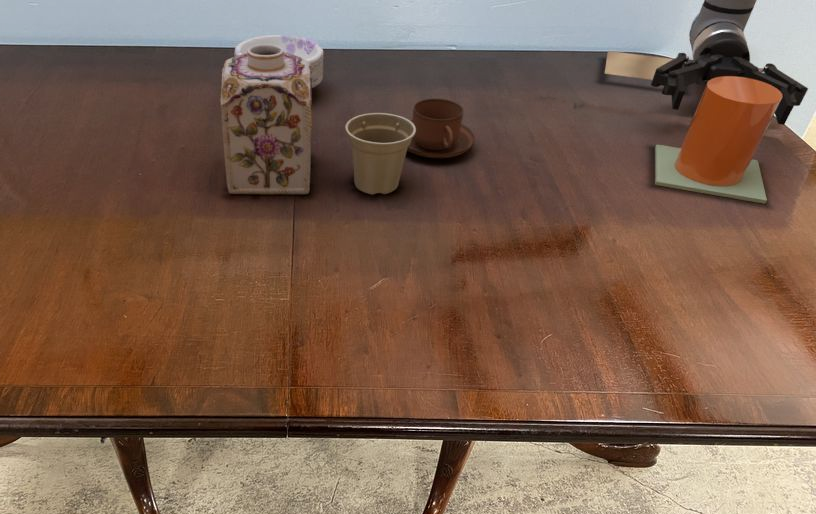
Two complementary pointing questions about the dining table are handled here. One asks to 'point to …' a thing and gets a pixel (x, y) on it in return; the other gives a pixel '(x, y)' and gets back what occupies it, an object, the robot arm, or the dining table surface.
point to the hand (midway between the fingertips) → (731, 107)
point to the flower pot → (378, 150)
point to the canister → (727, 130)
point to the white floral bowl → (291, 51)
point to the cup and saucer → (439, 130)
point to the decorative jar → (267, 121)
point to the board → (633, 65)
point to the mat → (670, 177)
